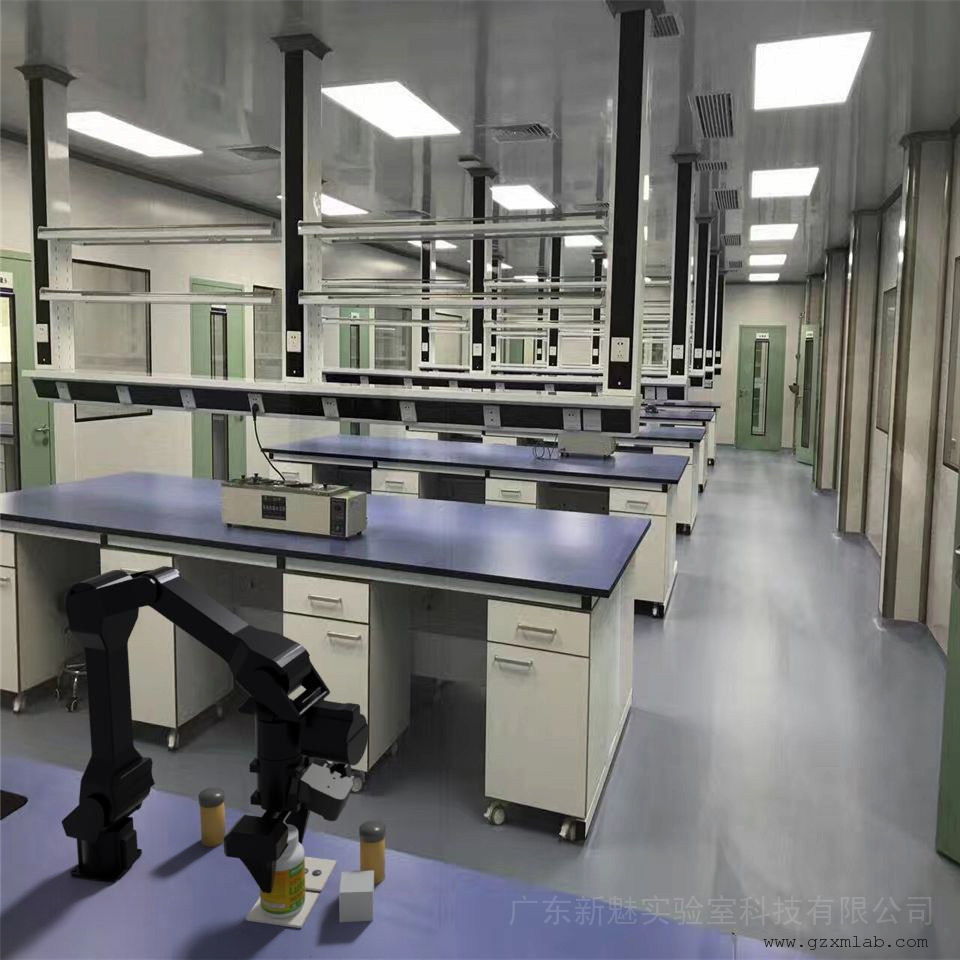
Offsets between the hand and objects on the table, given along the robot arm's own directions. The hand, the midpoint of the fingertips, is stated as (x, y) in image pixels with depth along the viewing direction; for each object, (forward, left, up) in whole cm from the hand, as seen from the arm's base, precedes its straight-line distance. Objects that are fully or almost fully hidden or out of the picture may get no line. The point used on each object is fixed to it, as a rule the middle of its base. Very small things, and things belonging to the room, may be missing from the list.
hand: (283, 867), depth 102 cm
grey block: (+9, +1, -6) cm, 11 cm away
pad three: (0, +7, -5) cm, 9 cm away
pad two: (0, 0, -5) cm, 5 cm away
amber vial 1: (-15, +11, -5) cm, 20 cm away
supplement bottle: (0, 0, -5) cm, 5 cm away
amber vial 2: (+9, +8, -6) cm, 13 cm away
